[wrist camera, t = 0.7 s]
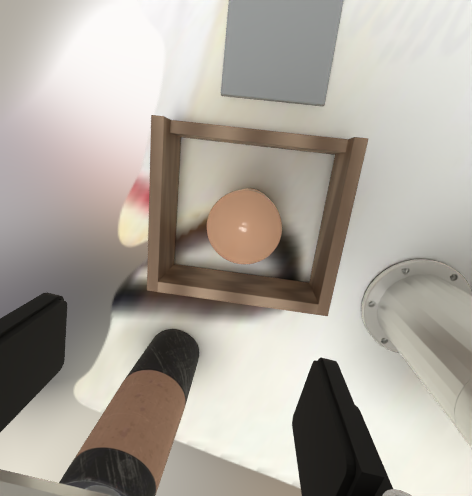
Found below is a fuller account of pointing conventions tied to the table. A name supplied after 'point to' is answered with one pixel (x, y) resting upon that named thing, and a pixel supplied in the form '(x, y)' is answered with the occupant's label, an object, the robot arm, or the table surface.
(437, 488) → the table surface
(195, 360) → the travel mug
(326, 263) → the brown wooden square frame
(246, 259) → the terracotta pot
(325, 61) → the slate mat
